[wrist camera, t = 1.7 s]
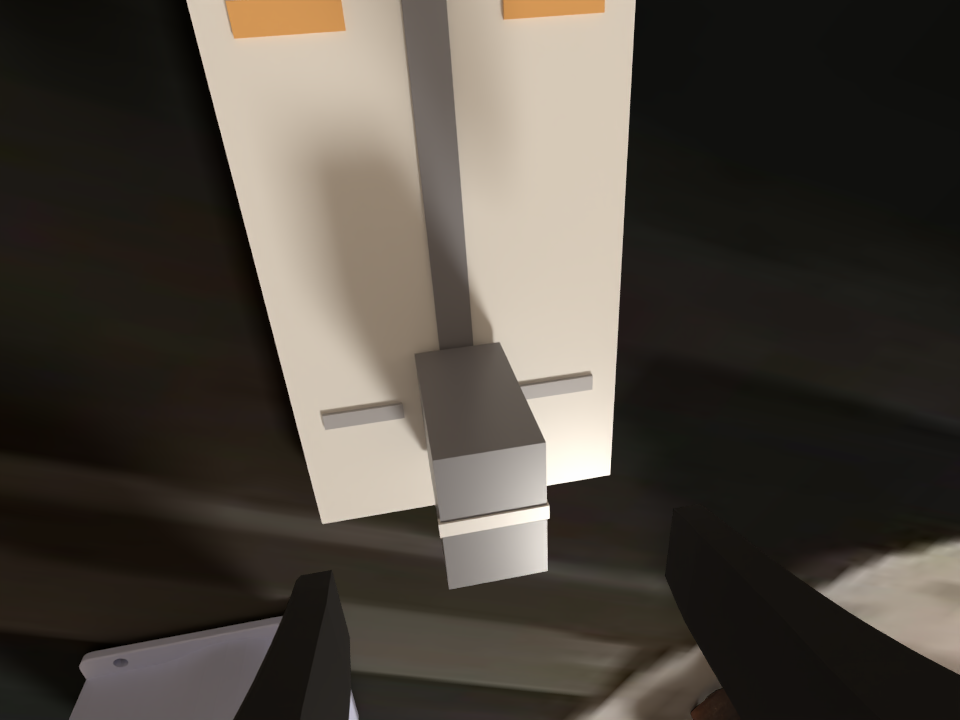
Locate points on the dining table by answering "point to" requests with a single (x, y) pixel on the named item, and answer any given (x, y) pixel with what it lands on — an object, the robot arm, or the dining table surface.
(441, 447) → the fader tab
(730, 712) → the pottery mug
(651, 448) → the dining table surface
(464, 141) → the console board
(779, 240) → the dining table surface
